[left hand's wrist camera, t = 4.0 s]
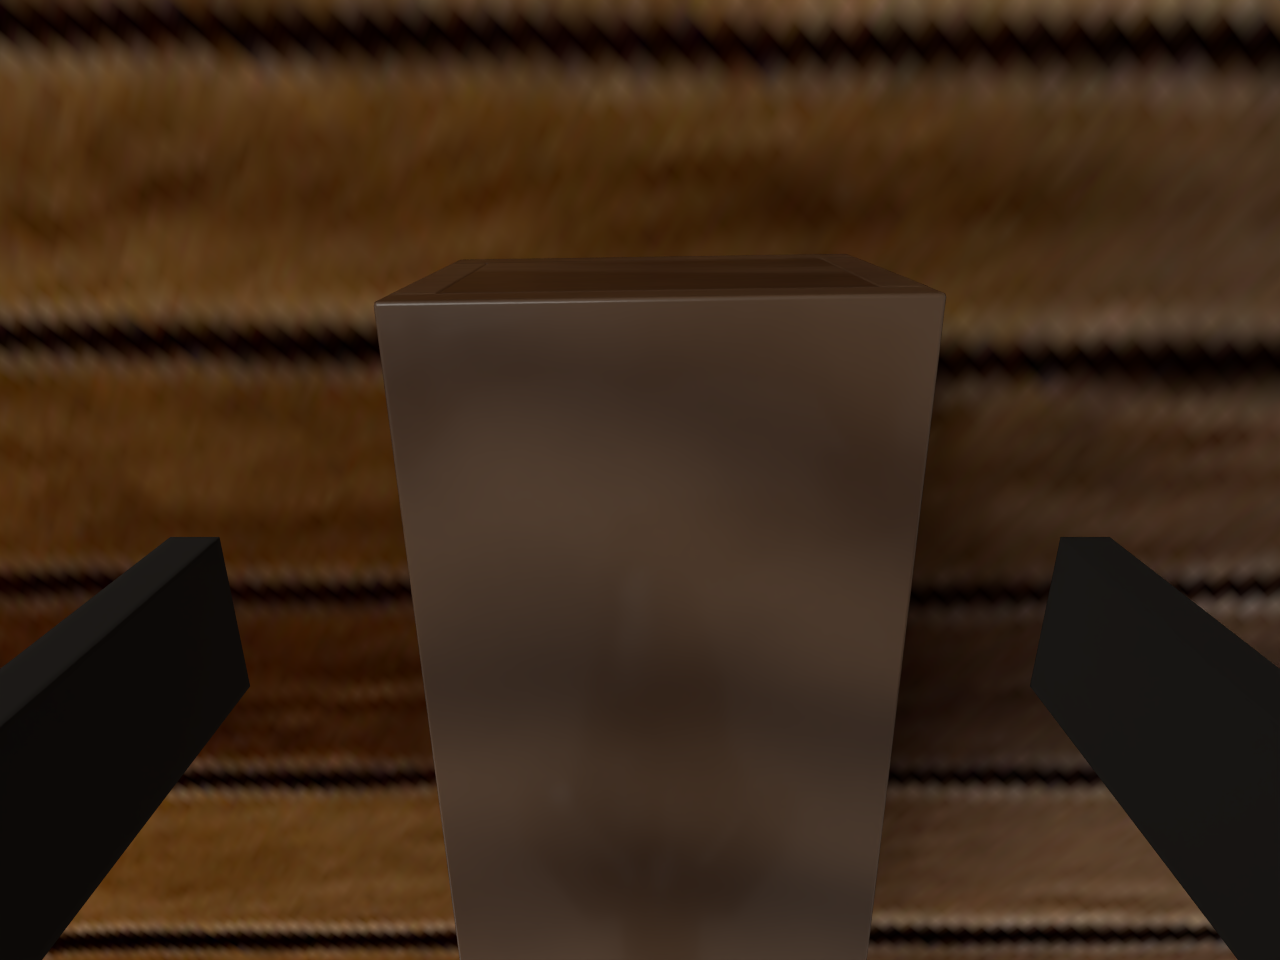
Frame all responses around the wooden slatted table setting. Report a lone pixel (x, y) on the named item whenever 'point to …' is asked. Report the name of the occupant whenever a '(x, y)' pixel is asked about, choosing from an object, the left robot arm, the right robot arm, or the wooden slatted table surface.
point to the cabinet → (661, 591)
